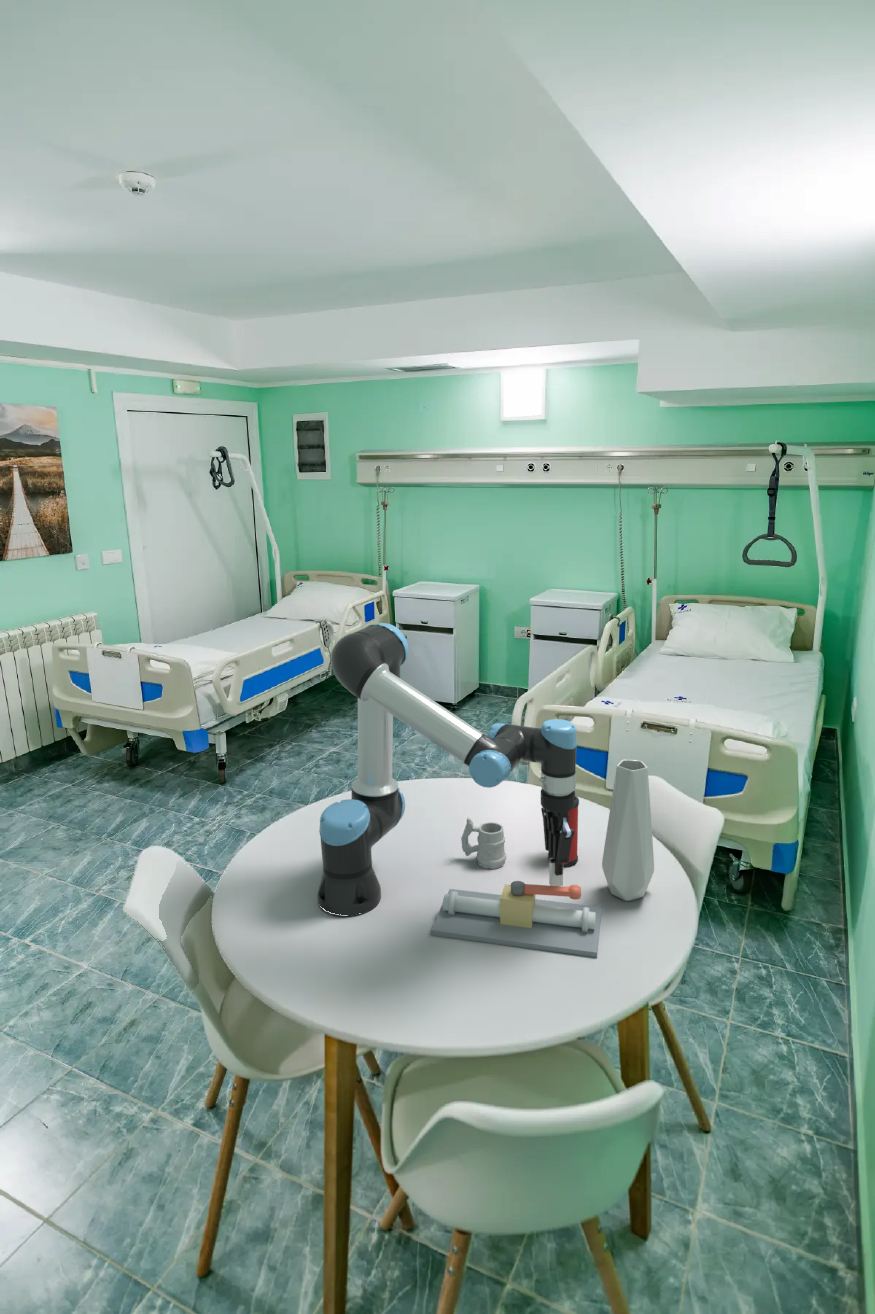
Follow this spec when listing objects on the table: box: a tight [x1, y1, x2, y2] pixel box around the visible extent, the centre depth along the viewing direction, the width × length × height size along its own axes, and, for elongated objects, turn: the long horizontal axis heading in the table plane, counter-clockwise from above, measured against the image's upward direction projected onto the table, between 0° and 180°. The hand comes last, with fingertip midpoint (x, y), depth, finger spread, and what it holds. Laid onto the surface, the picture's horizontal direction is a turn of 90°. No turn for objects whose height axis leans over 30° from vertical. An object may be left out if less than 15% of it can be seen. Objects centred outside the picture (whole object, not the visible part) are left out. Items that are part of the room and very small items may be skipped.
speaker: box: [547, 795, 580, 868], centre depth 194 cm, size 8×8×18 cm
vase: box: [601, 759, 655, 902], centre depth 177 cm, size 12×12×33 cm
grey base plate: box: [430, 884, 603, 958], centre depth 169 cm, size 36×17×8 cm, turn 75°
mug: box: [460, 816, 507, 870], centre depth 196 cm, size 8×12×12 cm, turn 75°
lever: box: [510, 880, 582, 900], centre depth 167 cm, size 15×3×2 cm, turn 80°
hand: (556, 884), depth 172 cm, fingers closed
